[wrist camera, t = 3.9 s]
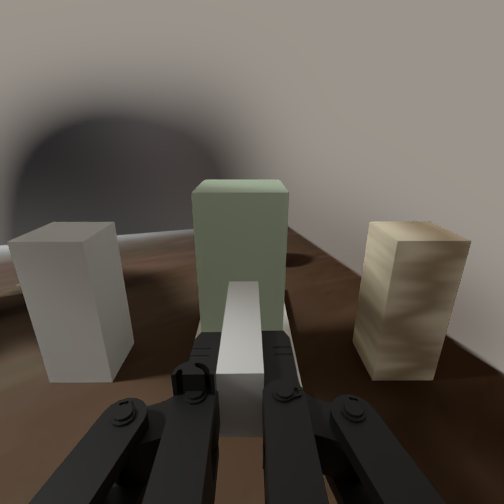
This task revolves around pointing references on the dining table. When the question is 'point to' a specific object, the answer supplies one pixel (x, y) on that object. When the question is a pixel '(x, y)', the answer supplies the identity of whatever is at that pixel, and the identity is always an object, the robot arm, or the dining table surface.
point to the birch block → (407, 298)
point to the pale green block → (240, 246)
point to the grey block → (75, 299)
